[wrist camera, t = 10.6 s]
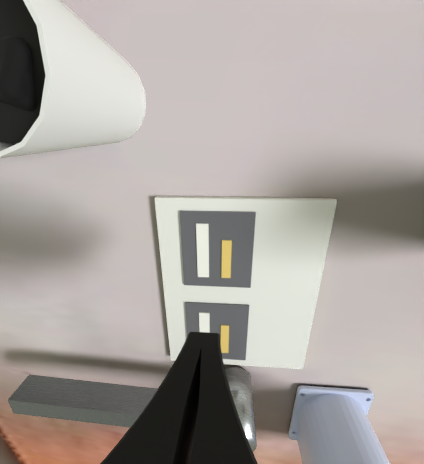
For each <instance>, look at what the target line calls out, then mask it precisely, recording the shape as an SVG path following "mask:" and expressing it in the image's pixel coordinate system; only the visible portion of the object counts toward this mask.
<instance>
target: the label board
mask: <svg viewBox="0 0 424 464" xmlns="http://www.w3.org/2000/svg"><path fill="white" fill-rule="evenodd" d="M154 199H155V209H156V219H157V228H158V238H159V248H160V258H161V268H162V278H163V288H164V298H165V308H166V318H167V327H168V337H169V347H170V357H171V361H175V360H176V359H177V357H178V355H179V353H180V351H181V349H182V347H183V345H184V343H185V341H186V339H187V336H188V334H189V333H190V332H207V333H218V334H219V335H220V345H221V353H222V358H223V363H224V364H231V365H246V366H262V367H277V368H292V369H303V366H304V361H305V356H306V352H307V347H308V342H309V337H310V332H311V327H312V322H313V317H314V312H315V308H316V303H317V298H318V293H319V288H320V283H321V278H322V273H323V268H324V264H325V259H326V254H327V249H328V244H329V239H330V234H331V229H332V224H333V220H334V215H335V210H336V205H337V200H336V199H334V198H262V197H183V196H156V197H155V198H154Z"/></svg>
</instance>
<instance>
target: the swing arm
mask: <svg viewBox="0 0 424 464" xmlns="http://www.w3.org/2000/svg"><path fill="white" fill-rule="evenodd" d="M225 372H226V376H227V380H228V384H229V387H230V391H231V394H232V397H233V400H234V403H235V406H236V409H237V412H238V415H239V418H240V421H241V424H242V426H243V429H244V432H245V434H246V437H247V439H248V442H249V444H250V447H251V449H252V452H253V451H254V450H255V449H256V446H257V444H256V432H255V420H254V408H253V397H252V385H251V376H250V374H249V373H248V372H247V371H246V370H244V369H242V368H239V367H228V368H225ZM157 390H158V389H154V388H145V387H136V386H127V385H118V384H109V383H100V382H91V381H82V380H73V379H63V378H54V377H45V376H36V375H29V376H28V377H27V378H26V379H25V380H24V382H23V383H22V384H21V385H20V386H19V387H18V389H17V390H16V391H15V392H14V393H13V394H12V396H11V397H10V398H9V399H8V402H9V404H10V406H11V408H12V410H13V413H16V414H24V415H32V416H41V417H49V418H57V419H66V420H74V421H82V422H91V423H99V424H107V425H116V426H124V427H131V426H132V425H133V424H134V422H135V421H136V420H137V418H138V417H139V416H140V414H141V413H142V412H143V410H144V409H145V408H146V406H147V405H148V403H149V402H150V400H151V399H152V398H153V396H154V394H155V393H156V391H157Z"/></svg>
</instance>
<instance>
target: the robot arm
mask: <svg viewBox="0 0 424 464" xmlns="http://www.w3.org/2000/svg"><path fill="white" fill-rule="evenodd" d="M373 398H374V394H373V392H372V391H370V390H360V389H345V388H331V387H317V386H303V385H302V386H299V387H298V388H297V393H296V398H295V403H294V408H293V413H292V418H291V423H290V428H289V433H288V435H289V438H290V439H292V440H297V441H298V445H299V450H300V454H301V459H302V463H303V464H390V463H389V461H388V459H387V456H386V454H385V452H384V450H383V448H382V446H381V444H380V442H379V440H378V438H377V436H376V434H375V432H374V430H373V428H372V426H371V424H370V422H369V420H368V418H367V414H368V411H369V409H370V406H371V403H372V401H373ZM101 464H257V461H256V459H255V457H254V454H253V452H252V449H251V447H250V444H249V442H248V439H247V437H246V434H245V432H244V429H243V426H242V424H241V421H240V418H239V415H238V412H237V409H236V406H235V403H234V400H233V397H232V394H231V391H230V387H229V384H228V380H227V376H226V372H225V368H224V363H223V358H222V353H221V345H220V335H219V334H218V333H207V332H190V333H189V334H188V336H187V339H186V341H185V343H184V345H183V347H182V349H181V351H180V353H179V355H178V357H177V359H176V360H175V362H174V364H173V366H172V367H171V369H170V371H169V372H168V374H167V376H166V377H165V379H164V381H163V382H162V384H161V385H160V387H159V388H158V390H157V391H156V393H155V394H154V396H153V398H152V399H151V400H150V402H149V403H148V405H147V406H146V408H145V409H144V410H143V412H142V413H141V414H140V416H139V417H138V418H137V420H136V421H135V422H134V424H133V425H132V426H131V428H130V429H129V430H128V431H127V433H126V434H125V435H124V436H123V438H122V439H121V440H120V441H119V443H118V444H117V445H116V446H115V447H114V449H113V450H112V451H111V452H110V453H109V455H108V456H107V457H106V458H105V459H104V460H103V461H102V462H101Z"/></svg>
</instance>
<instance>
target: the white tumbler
mask: <svg viewBox="0 0 424 464" xmlns="http://www.w3.org/2000/svg"><path fill="white" fill-rule="evenodd" d="M145 112H146V99H145V91H144V88H143V85H142V83H141V80H140V78H139V75H138V73H137V72H136V71H135V70H134V69H133V68H132V66H131V65H130V64H129V63H128V62H127V60H126V59H124V58H123V57H122V56H121V55H120V54H119V53H118V52H117V51H116V50H114V49H113V48H112V47H111V46H110V45H109V44H108V43H107V42H106V41H105V40H103V39H102V38H101V37H100V36H99V35H98V34H97V33H96V32H95V31H94V30H92V29H91V28H90V27H89V26H88V25H87V24H86V23H85V22H84V21H82V20H81V19H80V18H79V17H78V16H77V15H76V14H75V13H74V12H73V11H71V10H70V9H69V8H68V7H67V6H66V5H65V4H64V3H63V2H62V1H60V0H0V158H5V157H12V156H20V155H27V154H35V153H42V152H49V151H57V150H64V149H72V148H79V147H87V146H94V145H102V144H109V143H117V142H120V141H123V140H125V139H128V138H130V137H132V136H133V134H134V133H135V132H136V131H137V130H138V129H139V128H140V127H141V124H142V121H143V118H144V115H145Z"/></svg>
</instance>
